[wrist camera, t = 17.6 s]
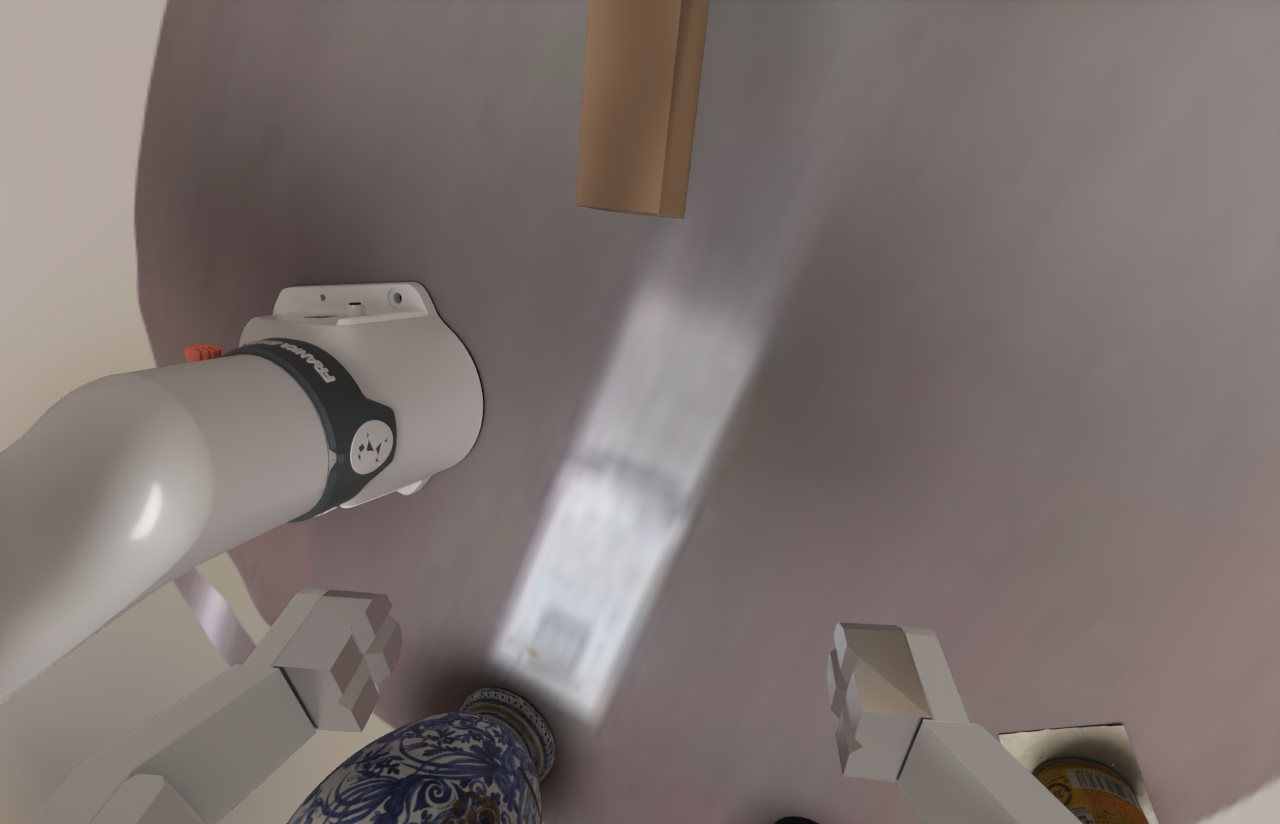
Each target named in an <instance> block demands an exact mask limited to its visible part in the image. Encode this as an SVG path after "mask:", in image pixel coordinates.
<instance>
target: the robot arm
mask: <svg viewBox="0 0 1280 824" xmlns="http://www.w3.org/2000/svg"><path fill="white" fill-rule="evenodd" d="M400 295H401V297H402V301H401V300H400ZM184 352H185V357H186V359H187V363H183V364H177V365H171V366H165V367H159V368H153V369H147V370H141V371H135V372H129V373H122V374H114V375H110V376H106V377H103V378H100V379H97V380H94V381H92V382H89V383H87V384H85V385H83V386H81V387H79V388H77V389H75V390H73V391H72V392H70V393H69V394H67V395H66V396H64V397H63V398H61V400H59V401H58V402H56V403H55V404H54V405H53V406H52V407H51V408H50V409H48V410H47V411H46V412H45V413H44V414H43V415H42V416H41V417H40V418H39V420H38V421H37V422H36V423H35V424H34V425H33V426H32V427H31V428H30V429H29V430H28V431H27V432H26V433H25V434H24V435H23V436H22V437H21V438H20V439H18V440H17V441H16V442H15V443H13V444H12V445H11V446H9V447H8V448H7V449H5V450H4V451H2V452H1V453H0V707H1V706H2V705H3V704H5V703H6V702H7V701H8V700H10V699H11V698H12V697H14V696H15V695H16V694H17V693H19V692H20V691H21V690H23V689H24V688H25V687H26V686H28V685H29V684H30V683H32V682H33V681H34V680H36V679H37V678H38V677H40V676H41V675H42V674H43V673H45V672H46V671H47V670H48V669H50V668H51V667H52V666H54V665H55V664H57V663H58V662H59V661H61V660H62V659H63V658H65V657H66V656H67V655H69V654H70V653H71V652H73V651H74V650H75V649H76V648H78V647H79V646H80V645H82V644H83V643H85V642H86V641H87V640H89V639H90V638H91V637H92V636H94V635H95V634H97V633H98V632H99V631H101V630H102V629H103V628H104V627H106V626H107V625H109V624H110V623H111V622H113V621H114V620H115V619H117V618H118V617H120V616H121V615H122V614H124V613H125V612H126V611H128V610H129V609H131V608H132V607H133V606H135V605H136V604H138V603H139V602H140V601H142V600H143V599H145V598H146V597H148V596H149V595H151V594H152V593H154V592H155V591H157V590H158V589H160V588H161V587H163V586H164V585H165V584H167V583H169V582H171V581H172V580H174V579H175V578H177V577H179V576H181V575H182V574H184V573H186V572H188V571H189V570H191V569H193V568H194V567H196V566H198V565H200V564H202V563H204V562H206V561H208V560H210V559H212V558H214V557H216V556H218V555H220V554H222V553H224V552H226V551H229V550H231V549H233V548H235V547H237V546H239V545H241V544H243V543H245V542H247V541H249V540H251V539H253V538H255V537H257V536H259V535H261V534H263V533H265V532H267V531H269V530H272V529H274V528H276V527H278V526H280V525H282V524H284V523H286V522H288V523H293V522H300V521H304V520H307V519H309V518H312V517H316V516H320V515H322V514H325V513H327V512H329V511H332V510H334V509H335V508H336V506H339V505H340V506H341V507H342V508H351V507H355V506H357V505H360V504H363V503H365V502H368V501H371V500H373V499H376V498H379V497H381V496H384V495H387V494H389V493H392V492H394V491H397V492H399V493H401V494H403V495H410V494H413V493H415V492H418V491H420V490H421V489H422V488H423V487H424V486H425V484H426V483H427V482H428V481H429V479H430V478H431V477H432V476H433V475H434V474H436V473H438V472H440V471H443V470H445V469H448V468H450V467H452V466H454V465H455V464H457V463H458V462H460V461H461V460H462V459H463V458H464V457H465V456H466V455H467V454H468V453H469V451H470V450H471V448H472V447H473V445H474V443H475V441H476V439H477V437H478V434H479V431H480V427H481V423H482V416H483V397H482V389H481V384H480V380H479V377H478V373H477V371H476V368H475V366H474V363H473V361H472V359H471V357H470V355H469V353H468V352H467V350H466V348H465V347H464V345H463V344H462V343H461V341H460V340H459V339H458V337H457V336H456V335H455V334H454V333H453V332H452V331H451V330H450V329H449V328H448V327H447V326H446V325H445V324H444V322H443V321H442V320H441V319H440V317H439V316H438V314H437V312H436V310H435V307H434V305H433V303H432V301H431V299H430V297H429V295H428V293H427V291H426V290H425V288H424V287H423V286H422V285H421V284H419V283H417V282H391V283H365V284H339V285H313V286H295V287H289V288H285V289H283V290H282V291H281V293H280V295H279V297H278V299H277V301H276V304H275V307H274V310H273V315H268V316H260V317H255V318H252V319H251V320H250V321H249V322H248V323H247V325H246V326H245V328H244V330H243V332H242V335H241V338H240V342H239V348H237V349H234V350H232V351H230V352H228V353H225V354H224V355H222V356H221V348H220V347H218V346H213V345H192V346H188V347H186V348H184ZM391 607H392V605H391V603H390V601H389V599H388V596H387V595H386V594H375V593H364V592H353V591H342V590H332V589H318V588H304V589H303V590H301V591H300V592H298V593H297V594H296V595H295V596H294V597H293V599H292V600H291V601H290V603H289V604H288V605H287V607H286V608H285V609H284V611H283V612H282V613H281V615H280V616H279V617H278V619H277V620H276V621H275V623H274V624H273V625H272V627H271V628H270V629H269V631H268V632H267V633H266V635H265V636H264V637H263V639H262V640H261V641H260V643H259V644H258V645H257V647H256V648H255V649H254V651H253V652H252V653H251V655H250V656H249V657H248V659H247V660H246V661H245V663H244V664H243V665H234V666H232V667H230V668H229V669H227V670H226V671H224V672H223V673H221V674H219V675H218V676H217V677H215V678H213V679H212V680H210V681H209V682H207V683H205V684H204V685H202V686H201V687H199V688H198V689H196V690H194V691H193V692H191V693H190V694H188V695H187V696H185V697H184V698H182V699H180V700H179V701H177V702H176V703H174V704H173V705H171V706H169V707H168V708H166V709H165V710H163V711H162V712H160V713H159V714H157V715H155V716H154V717H152V718H151V719H149V720H148V721H146V722H144V723H143V724H141V725H140V726H138V727H137V728H135V729H134V730H132V731H130V732H129V733H128V734H126V735H124V736H123V737H121V738H119V739H118V740H116V741H115V742H113V743H112V744H110V745H109V746H107V747H105V748H104V749H102V750H101V751H99V752H98V753H96V754H94V755H93V756H91V757H90V758H88V759H87V760H85V761H83V762H82V763H80V764H79V765H78V766H77V767H76V769H75V770H74V771H73V772H72V773H71V774H70V776H69V777H68V778H67V779H66V780H65V781H64V782H63V784H62V785H61V786H60V787H59V788H58V790H56V792H55V793H54V794H53V795H52V796H51V798H50V799H49V800H48V801H47V802H46V803H45V804H44V805H43V807H42V808H41V809H40V810H39V811H38V812H37V813H36V814H35V816H34V817H33V818H32V819H31V820H30V821H29V823H28V824H217V823H218V822H219V821H220V820H221V819H223V818H224V817H225V816H226V815H227V814H228V813H229V812H230V811H231V810H232V809H233V808H235V807H236V806H237V805H238V804H239V803H240V802H241V801H242V800H243V799H244V798H246V797H247V796H248V795H249V794H250V793H251V792H252V791H253V790H254V789H255V788H256V787H258V786H259V785H260V784H261V783H262V782H263V781H264V780H265V779H266V778H267V777H268V776H269V775H271V774H272V773H273V772H274V771H275V770H276V769H277V768H278V767H279V766H280V765H282V764H283V763H284V762H285V761H286V760H287V759H288V758H289V757H290V756H291V755H292V754H294V753H295V752H296V751H297V750H298V749H299V748H300V747H301V746H302V745H303V744H305V742H307V741H308V740H309V739H310V738H311V737H312V736H313V735H314V734H315V733H316V730H329V731H346V732H362V731H363V729H364V727H365V725H366V723H367V721H368V719H369V717H370V715H371V713H372V711H373V709H374V707H375V705H376V703H377V701H378V699H379V697H380V695H379V690H378V684H379V683H380V682H382V681H383V680H384V679H385V678H387V677H388V676H389V675H391V673H392V671H393V669H394V667H395V665H396V663H397V661H398V658H399V654H400V649H401V645H402V635H401V629H400V626H399V623H398V622H397V621H396V620H395V619H393V618H392V617H391V616H389V615H388V613H389V611H390V609H391ZM834 640H835V645H836V649H834V650H833V651H831V652H830V654H829V660H828V666H827V685H828V695H829V701H830V707H831V709H832V711H833V712H834V713H835V714H836V715H837V716H838V718H839V723H838V727H837V731H836V740H837V746H838V751H839V757H840V762H841V767H842V773H843V776H849V777H858V778H866V779H875V780H883V781H892V782H897V786H898V788H899V789H900V790H901V792H902V793H903V795H904V796H905V797H906V799H907V800H908V801H909V803H910V804H911V806H912V807H913V808H914V810H915V811H916V812H917V814H918V815H919V817H920V818H921V819H922V821H923V822H924V824H1083V823H1082V822H1081V821H1080V820H1079V819H1078V818H1077V817H1076V816H1074V815H1073V814H1072V813H1071V812H1070V811H1069V810H1068V809H1067V808H1066V807H1065V806H1064V805H1063V804H1062V803H1061V802H1060V801H1059V800H1058V799H1057V798H1056V797H1055V796H1054V795H1053V794H1052V793H1051V792H1050V791H1049V790H1048V789H1047V788H1046V787H1045V786H1044V785H1042V784H1041V783H1040V782H1039V781H1038V780H1037V779H1036V778H1035V777H1034V776H1033V775H1032V774H1031V773H1030V772H1029V771H1028V770H1027V769H1026V768H1025V767H1024V766H1023V765H1022V764H1021V763H1020V762H1019V761H1018V760H1017V759H1016V758H1015V757H1014V756H1013V755H1011V754H1010V753H1009V752H1008V751H1007V750H1006V749H1005V748H1004V747H1003V746H1002V745H1001V744H1000V743H999V742H998V741H997V740H996V739H995V738H994V737H993V736H992V735H991V734H990V733H989V732H988V731H987V730H986V729H985V728H984V727H983V726H982V725H981V724H976V723H970V721H969V719H968V716H967V714H966V711H965V708H964V706H963V703H962V701H961V698H960V695H959V693H958V690H957V688H956V685H955V682H954V680H953V677H952V675H951V672H950V669H949V667H948V664H947V661H946V659H945V656H944V654H943V651H942V648H941V646H940V643H939V641H938V638H937V635H936V634H935V633H934V631H933V630H932V629H930V628H919V627H901V626H900V627H898V626H897V625H878V624H858V623H838V625H837V626H836V629H835V633H834Z"/></svg>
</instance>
